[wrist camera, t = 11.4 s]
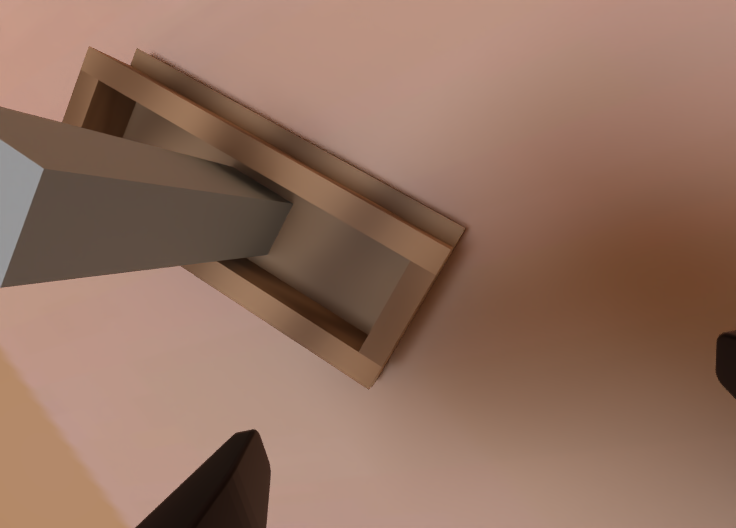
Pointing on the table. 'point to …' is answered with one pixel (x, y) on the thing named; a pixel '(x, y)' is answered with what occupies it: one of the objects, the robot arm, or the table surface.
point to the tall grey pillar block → (119, 205)
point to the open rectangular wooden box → (303, 223)
